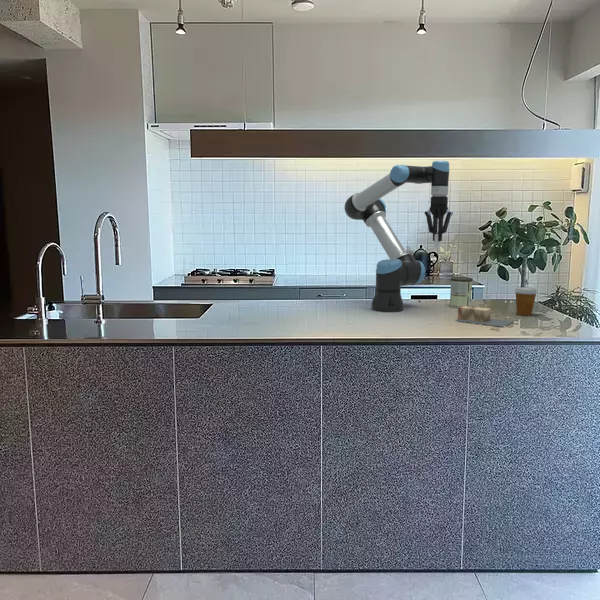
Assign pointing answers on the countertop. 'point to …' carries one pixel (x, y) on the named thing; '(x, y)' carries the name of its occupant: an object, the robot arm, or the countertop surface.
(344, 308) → the countertop surface
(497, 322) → the mat
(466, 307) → the oak block
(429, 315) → the countertop surface
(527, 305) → the disposable coffee cup
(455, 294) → the lidded glass jar
